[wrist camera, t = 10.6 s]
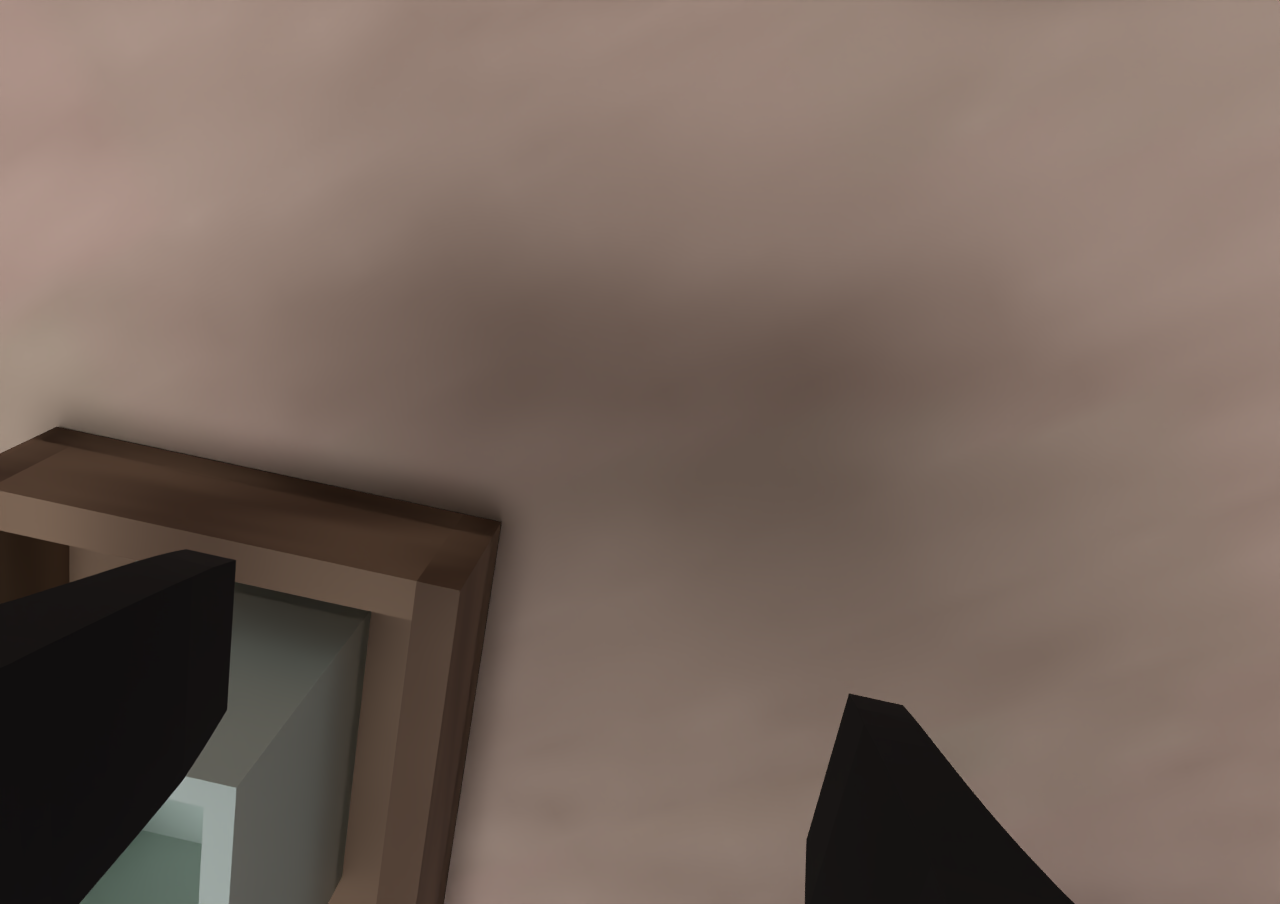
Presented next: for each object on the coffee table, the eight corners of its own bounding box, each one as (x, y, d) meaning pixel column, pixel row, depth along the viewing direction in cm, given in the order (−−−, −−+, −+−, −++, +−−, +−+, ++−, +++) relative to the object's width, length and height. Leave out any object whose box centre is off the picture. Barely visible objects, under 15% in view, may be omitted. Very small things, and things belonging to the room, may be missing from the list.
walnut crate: (501, 522, 22) (460, 590, 19) (435, 953, 26) (392, 1068, 23) (56, 427, 22) (-55, 479, 19) (57, 866, 26) (-34, 967, 23)
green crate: (371, 608, 22) (236, 787, 16) (342, 876, 24) (214, 1115, 18) (140, 557, 22) (-74, 717, 16) (132, 828, 24) (-56, 1050, 19)
